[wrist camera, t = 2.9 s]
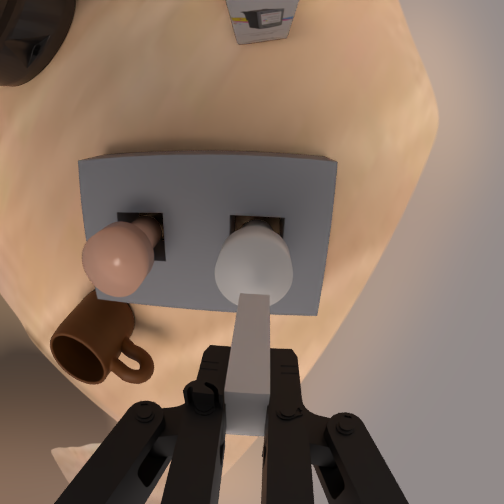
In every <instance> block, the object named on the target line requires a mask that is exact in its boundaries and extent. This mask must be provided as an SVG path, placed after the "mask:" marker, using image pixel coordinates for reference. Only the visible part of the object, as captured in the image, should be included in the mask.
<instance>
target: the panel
mask: <svg viewBox="0 0 504 504" xmlns="http://www.w3.org/2000/svg"><path fill="white" fill-rule="evenodd" d="M337 163H338V162H337V161H334V160H332V159H330V158H327V157H324V156H314V155H302V154H289V153H273V152H252V151H155V152H135V153H120V154H107V155H101V156H96V157H92V158H88V159H83V160H79V161H78V166H79V181H80V193H81V203H82V212H83V220H84V228H85V235H86V241H88V239H89V238H91V237H92V236H93V235H95V234H96V233H97V232H99V231H100V230H102V229H103V228H104V227H106V226H107V225H109V224H111V223H113V222H119V221H122V222H128V223H132V222H133V221H135V220H136V219H137V218H138V217H139V213H163V225H164V241H163V240H160V241H159V242H158V244H157V245H156V246H155V247H154V248H153V251H154V263H153V267H152V269H151V271H150V272H149V274H148V275H147V276H146V278H145V279H144V280H143V282H142V283H141V285H140V286H139V287H138V289H137V290H136V291H135V292H134V293H132V294H131V295H128V296H125V297H114V296H110V295H107V294H105V293H103V292H102V291H100V290H99V289H97V288H96V287H95V289H96V294H97V298H98V299H102V300H110V301H117V302H126V303H134V304H143V305H152V306H162V307H172V308H183V309H195V310H208V311H221V312H237V308H238V305H236V304H234V303H232V302H231V301H229V300H228V299H227V298H226V297H225V296H224V295H223V294H222V293H221V292H220V290H219V288H218V286H217V284H216V280H215V266H216V262H217V260H218V257H219V254H220V251H221V248H222V246H223V244H224V242H225V240H226V239H227V238H228V237H229V236H230V235H231V234H232V233H234V232H235V215H242V216H263V217H281V220H280V234H279V236H280V237H282V239H283V240H284V241H285V243H286V244H287V247H288V249H289V253H290V258H291V263H292V268H293V280H292V284H291V287H290V289H289V291H288V292H287V293H286V295H285V296H284V297H283V298H282V299H281V300H279V301H278V302H277V303H275V304H273V305H271V306H270V314H275V315H304V316H317V313H318V308H319V302H320V296H321V290H322V284H323V278H324V271H325V265H326V258H327V251H328V244H329V236H330V229H331V221H332V212H333V204H334V194H335V185H336V174H337Z"/></svg>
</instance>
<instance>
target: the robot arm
mask: <svg viewBox="0 0 504 504" xmlns="http://www.w3.org/2000/svg"><path fill="white" fill-rule="evenodd" d="M74 7H75V0H0V86H19V85H22V84H24V83H26V82H28V81H29V80H31V79H32V78H34V77H35V76H36V75H37V74H38V73H39V72H40V71H41V70H42V69H43V68H44V67H45V66H46V65H47V64H48V63H49V61H50V60H51V59H52V58H53V56H54V55H55V53H56V52H57V50H58V49H59V47H60V45H61V44H62V42H63V40H64V38H65V36H66V34H67V32H68V29H69V27H70V24H71V21H72V18H73V14H74ZM183 394H184V399H185V404H183V405H180V406H177V407H171V408H161V407H160V406H159V405H158V404H156V403H155V402H151V401H140V402H137V403H135V404H133V405H132V406H131V407H130V408H129V409H128V410H127V412H126V413H125V414H124V416H123V417H122V418H121V419H120V421H119V422H118V423H117V424H116V426H115V427H114V428H113V430H112V431H111V432H110V433H109V435H108V436H107V437H106V438H105V440H104V441H103V442H102V443H101V445H100V446H99V447H98V449H97V450H96V451H95V452H94V454H93V455H92V456H91V457H90V459H89V460H88V461H87V463H86V464H85V465H84V466H83V468H82V469H81V470H80V471H79V473H78V474H77V475H76V476H75V478H74V479H73V480H72V482H71V483H70V484H69V485H68V487H67V488H66V489H65V490H64V492H63V493H62V494H61V496H60V497H59V498H58V500H57V501H56V502H55V503H54V504H145V502H146V501H147V499H148V497H149V496H150V494H151V493H152V491H153V489H154V488H155V486H156V484H157V483H158V481H159V479H160V478H161V476H162V474H163V473H164V471H165V469H166V468H167V466H168V464H169V463H170V461H171V464H170V468H169V472H168V476H167V480H166V484H165V488H164V493H163V497H162V501H161V504H218V499H219V490H220V483H221V475H222V467H223V459H224V451H225V434H233V435H248V436H264V447H263V454H262V457H263V468H262V497H261V504H314V495H313V482H312V469H311V464H313V465H314V468H315V470H316V473H317V475H318V478H319V480H320V483H321V485H322V488H323V490H324V493H325V495H326V498H327V500H328V503H329V504H409V503H408V501H407V500H406V498H405V496H404V494H403V492H402V491H401V489H400V487H399V485H398V484H397V482H396V480H395V478H394V476H393V475H392V473H391V471H390V469H389V468H388V466H387V464H386V462H385V460H384V459H383V457H382V455H381V454H380V452H379V450H378V448H377V446H376V445H375V443H374V441H373V439H372V438H371V436H370V434H369V432H368V431H367V429H366V427H365V425H364V423H363V422H362V421H361V419H360V418H359V417H357V416H356V415H354V414H350V413H346V412H345V413H338V414H336V415H333V416H332V417H331V418H327V417H323V416H318V415H315V414H313V413H311V412H309V411H308V410H307V409H306V408H305V406H304V405H303V402H302V396H301V386H300V376H299V367H298V358H297V356H296V354H295V353H294V352H293V350H292V349H276V348H270V295H262V294H244V293H240V295H239V301H238V308H237V314H236V320H235V326H234V332H233V339H232V345H231V347H228V346H216V345H210V346H209V347H208V348H207V349H206V350H205V351H204V353H203V357H202V360H201V364H200V369H199V372H198V376H197V379H196V380H195V381H192V382H190V383H189V384H187V385H186V386H185V388H184V390H183ZM171 459H172V460H171Z"/></svg>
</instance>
